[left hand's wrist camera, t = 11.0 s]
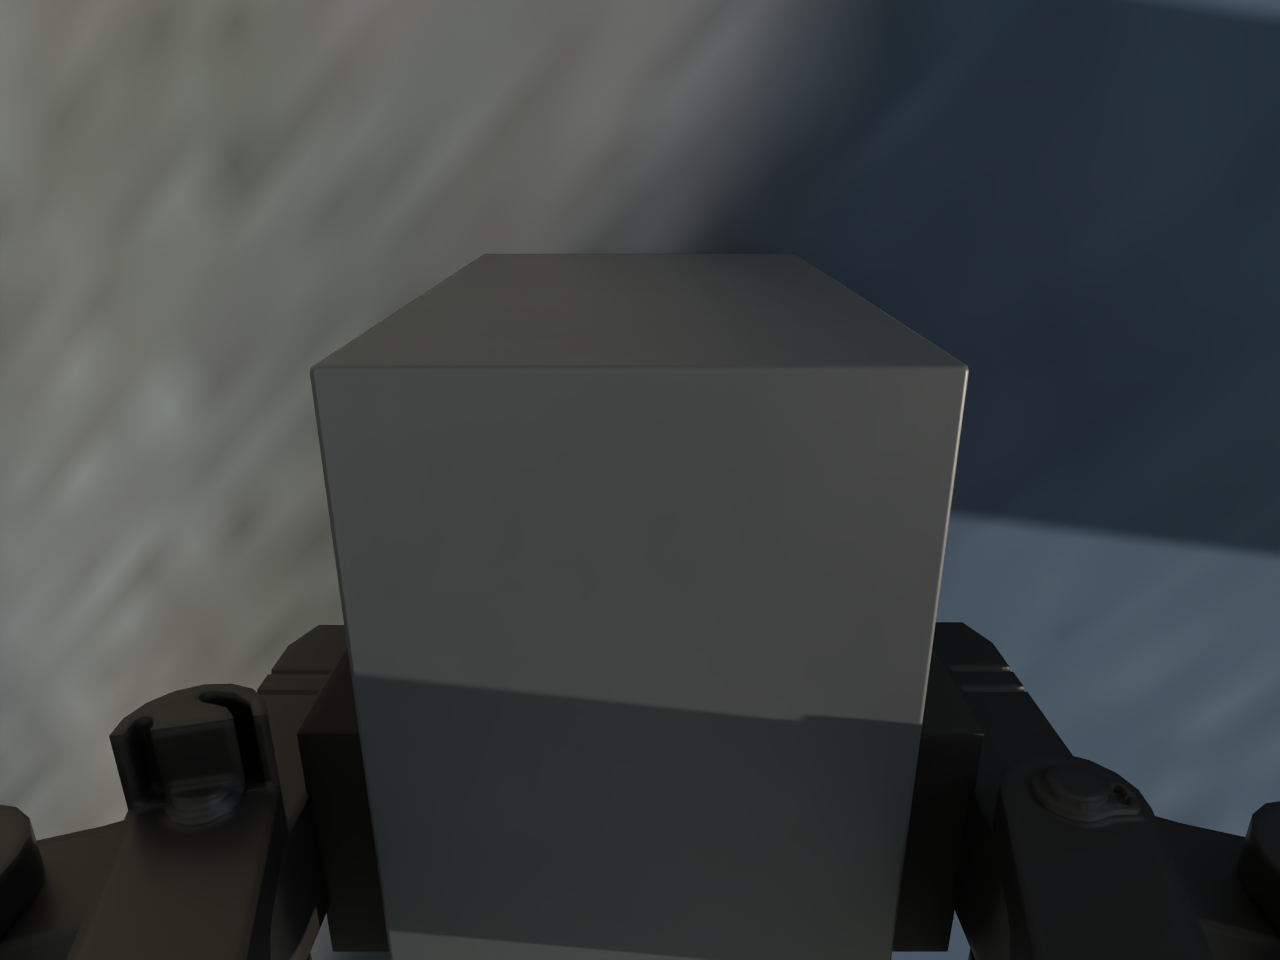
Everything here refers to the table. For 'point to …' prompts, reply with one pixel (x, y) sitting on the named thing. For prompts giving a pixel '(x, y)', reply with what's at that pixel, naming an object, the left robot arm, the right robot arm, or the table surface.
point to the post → (639, 604)
